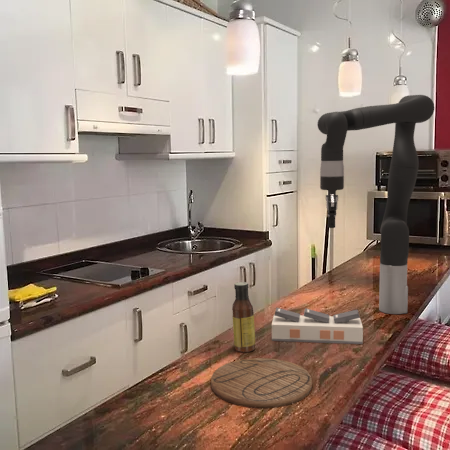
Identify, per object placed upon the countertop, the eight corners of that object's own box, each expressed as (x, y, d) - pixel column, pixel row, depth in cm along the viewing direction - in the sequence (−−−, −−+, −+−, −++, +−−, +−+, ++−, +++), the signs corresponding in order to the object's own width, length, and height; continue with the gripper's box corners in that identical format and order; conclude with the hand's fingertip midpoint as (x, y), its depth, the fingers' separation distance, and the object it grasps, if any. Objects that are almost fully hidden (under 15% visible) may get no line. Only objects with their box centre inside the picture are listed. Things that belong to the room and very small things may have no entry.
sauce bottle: (257, 346, 154) (256, 281, 152) (252, 354, 148) (250, 286, 146) (236, 344, 156) (235, 280, 154) (230, 351, 151) (228, 285, 148)
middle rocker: (327, 320, 162) (329, 314, 162) (327, 324, 158) (329, 318, 158) (303, 313, 163) (305, 307, 163) (303, 317, 159) (305, 311, 159)
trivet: (190, 386, 130) (190, 378, 130) (257, 357, 147) (257, 350, 147) (265, 421, 112) (265, 412, 112) (332, 383, 129) (332, 376, 129)
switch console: (359, 332, 164) (359, 317, 164) (362, 344, 154) (363, 328, 154) (274, 329, 169) (274, 314, 168) (271, 340, 159) (271, 325, 158)
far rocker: (298, 319, 164) (299, 313, 164) (298, 323, 160) (299, 317, 160) (275, 312, 165) (276, 307, 164) (274, 316, 161) (275, 311, 161)
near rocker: (358, 314, 161) (357, 309, 160) (360, 319, 157) (358, 313, 156) (334, 320, 162) (333, 314, 162) (335, 324, 158) (333, 318, 158)
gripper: (345, 175, 162) (344, 230, 164) (342, 173, 174) (342, 224, 177) (320, 176, 163) (320, 230, 165) (319, 174, 176) (319, 224, 178)
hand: (331, 227), depth 171 cm, fingers closed
